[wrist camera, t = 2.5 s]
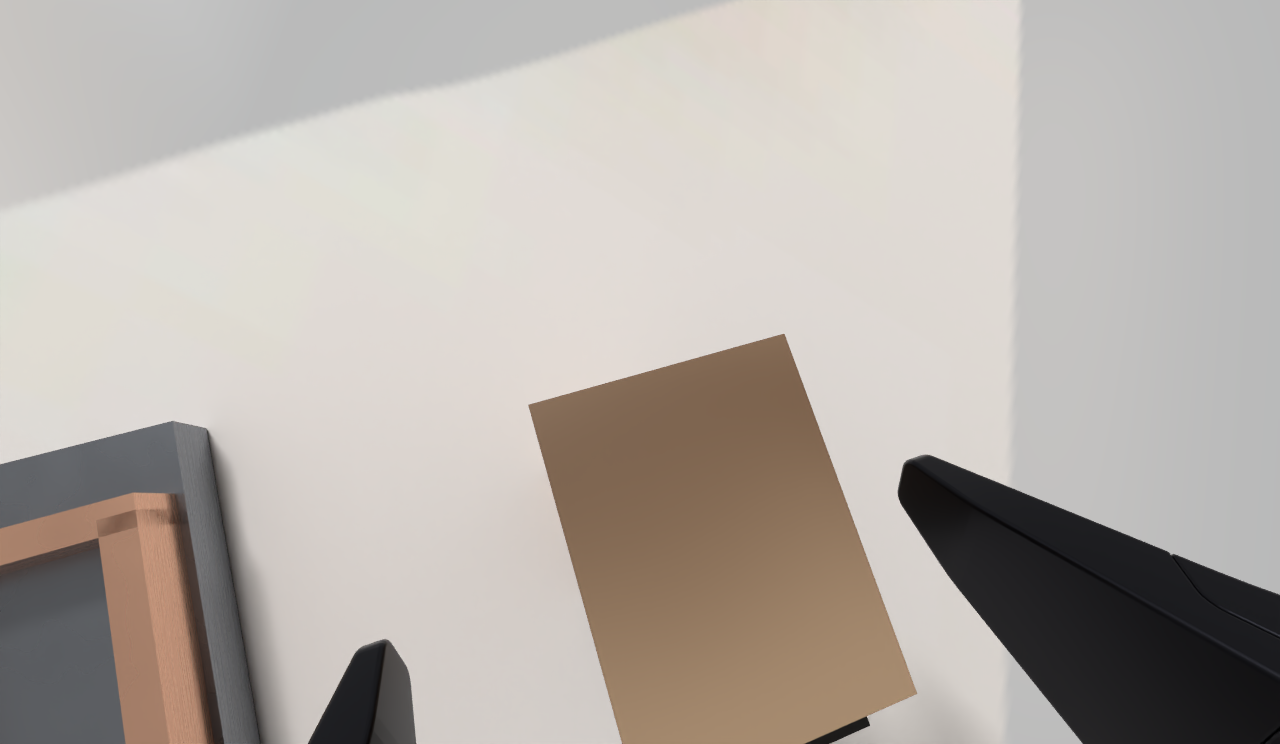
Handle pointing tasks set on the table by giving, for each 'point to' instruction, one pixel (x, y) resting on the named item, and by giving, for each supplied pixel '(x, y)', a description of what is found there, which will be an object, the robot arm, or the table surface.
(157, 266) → the table surface
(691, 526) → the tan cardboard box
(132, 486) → the rail
